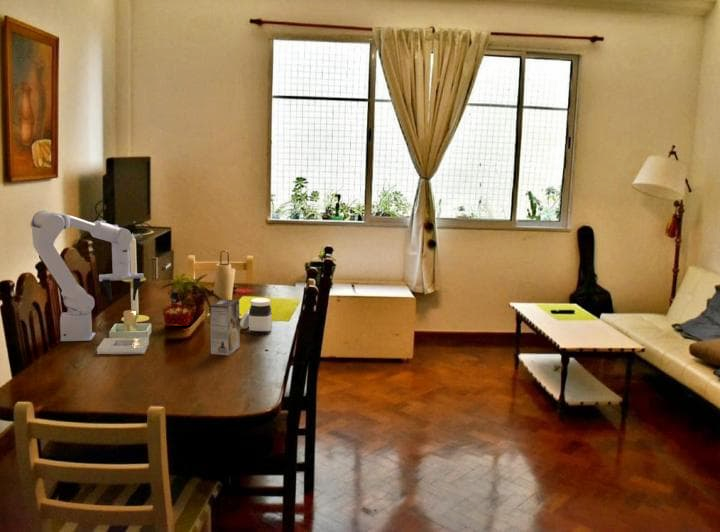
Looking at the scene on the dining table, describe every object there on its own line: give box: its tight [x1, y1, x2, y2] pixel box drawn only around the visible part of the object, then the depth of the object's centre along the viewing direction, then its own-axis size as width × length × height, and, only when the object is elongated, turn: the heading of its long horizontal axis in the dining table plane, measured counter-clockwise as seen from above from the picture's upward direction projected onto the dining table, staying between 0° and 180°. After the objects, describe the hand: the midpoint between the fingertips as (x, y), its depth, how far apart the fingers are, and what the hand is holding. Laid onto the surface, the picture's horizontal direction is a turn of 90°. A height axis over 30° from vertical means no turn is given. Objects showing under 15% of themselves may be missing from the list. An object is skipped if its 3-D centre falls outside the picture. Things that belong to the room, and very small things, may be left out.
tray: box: [108, 323, 153, 339], centre depth 228 cm, size 12×10×3 cm
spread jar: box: [239, 297, 273, 336], centre depth 238 cm, size 12×11×12 cm
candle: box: [120, 232, 150, 324], centre depth 246 cm, size 10×10×32 cm
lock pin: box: [123, 309, 138, 332], centre depth 227 cm, size 4×4×8 cm
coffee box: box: [209, 298, 241, 356], centre depth 214 cm, size 9×6×16 cm
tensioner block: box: [96, 337, 150, 356], centre depth 214 cm, size 14×11×2 cm
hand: (122, 300), depth 234 cm, fingers open, 7 cm apart
